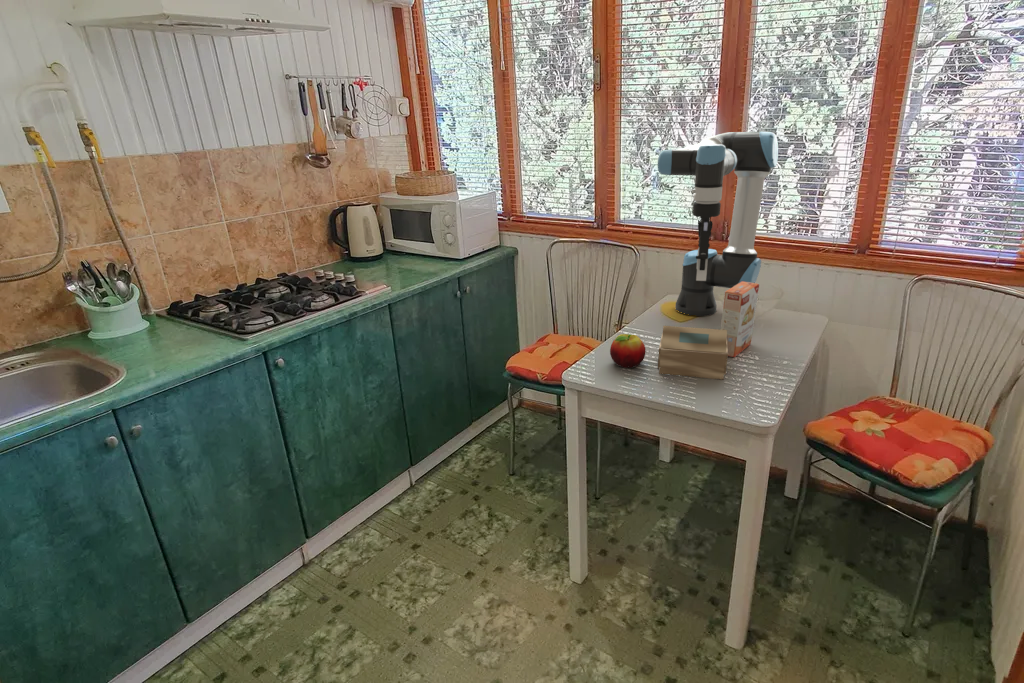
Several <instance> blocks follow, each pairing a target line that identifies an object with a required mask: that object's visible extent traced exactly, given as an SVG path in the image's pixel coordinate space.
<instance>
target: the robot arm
mask: <svg viewBox="0 0 1024 683" xmlns="http://www.w3.org/2000/svg"><path fill="white" fill-rule="evenodd" d="M778 143H779V142H778V137H777V135H776V134H775V132H773V131H742V132H741V131H733V132H732V131H731V132H729V131H728V132H723V133H719V134H716V135H712V136H709V137H706V138H704V139H702V140H701V141H700V142H699V143H696V144H693V145H689V146H686V147H683V148H678V149H672V148H670V149H663V150H661V151H660V152H659V154H658V157H657V170H658V172H659V174H661V175H663V176H694V177H695V179H694V189H692V191H691V193H692V194H694V195H693V200H694V203H692V215H693V216H695V217H698V218H699V217H700V220H698V222H697V229H698V232H697V234H698V236H697V237H698V246H697V249H695V250H691V251H688V252H686V253H684V256H683V263H682V273H681V290H680V292H679V294H678V297H677V299H676V302H675V305H674V306H675V307H674V308H676V309H675V311H676V310H678V311H679V312H682V313H685V314H689V315H688V316H691V315H696V316H695V317H705V316H711V315H714V314H715V313H716V312H717V301H716V297H715V294H714V288H715V287H717V288H718V287H719V288H724V289H725V288H726V289H730V288H732V287H734V286H735V285H737V284H739V283H740V282H742V281H744V282H750V283H756V282H757V280H758V278H759V274H760V270H761V268H762V267H761V266H762V265H761V264H762V259H761V258H759V257H758V252H757V251H756V249H755V248H754V246H755V240H756V234H757V229H758V228H757V227H758V222H759V216H760V210H761V209H760V208H761V202H762V198H763V197H762V196H763V190H764V183H765V179H766V178H767V176H770V174H771V169H775V168H776V167H777V165H778V160H779V144H778ZM732 171H733V173H734V174H735V175H736V177H737V182H736V190H735V197H734V203H733V210H732V217H731V224H730V230H729V231H730V232H729V238H728V245H727V246H726V248H724V249H722V254H718V252H717V250H716V249H713V248H710V246H711V245H710V238H711V236H712V229H713V224H714V223H713V221H712V220H711V218H715V217H719V216H720V214H721V206H722V205H721V202H720V201H722V197H723V186H724V185H723V181H724V177H725V176H727V175H730V174H731V172H732ZM679 312H678V313H679ZM682 313H681V314H682ZM685 314H684V315H685Z"/></svg>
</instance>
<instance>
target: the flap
mask: <svg viewBox="0 0 1024 683" xmlns="http://www.w3.org/2000/svg"><path fill="white" fill-rule="evenodd" d="M662 333H663V335H662V334H661V337H662V346H661V348H667V349H680V350H692V351H705V352H718V353H726V339H727V330H721V328H720V329H719V328H718V329H716V328H705V327H704V328H702V327H691V326H690V327H687V326H675V325H674V326H673V325H663V327H662Z"/></svg>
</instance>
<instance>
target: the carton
mask: <svg viewBox="0 0 1024 683" xmlns="http://www.w3.org/2000/svg"><path fill="white" fill-rule="evenodd" d="M662 335H663V332H662V333H661V337H660V343H659V345H658V346H659V347H658V359H657V369H659V370H658V374H659V375H665V374H670V375H669V376H676V375H680V376H679V377H686V376H688V378H700V379H711V380H719V381H723V380H724V377H725V375H727V367H728V366H727V365H728V359H729V358H728V357H729V356H728V348H727V339H726V353H718V352H705V351H692V350H680V349H667V348H661V346H662Z"/></svg>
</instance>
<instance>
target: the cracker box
mask: <svg viewBox="0 0 1024 683" xmlns="http://www.w3.org/2000/svg"><path fill="white" fill-rule="evenodd" d="M759 289H760V284H759V283H756V282H755V283H750V282H744V281H742V282H740V283H739V284H737V285H735V286H734V287H732V288H728V289H727V290H726V291H724V298H723V306H722V314H721V323H720V330H727V348H728V357H731V358H736V357H737V356H738V355H739V354H740V353H741V352H743V351H744V350H746V349H747V348H748V347H749V346H750V345H751V344H752V338H753V331H754V326H755V325H754V324H755V316H756V311H757V310H756V309H757V304H758V303H757V302H758V296H759Z"/></svg>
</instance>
